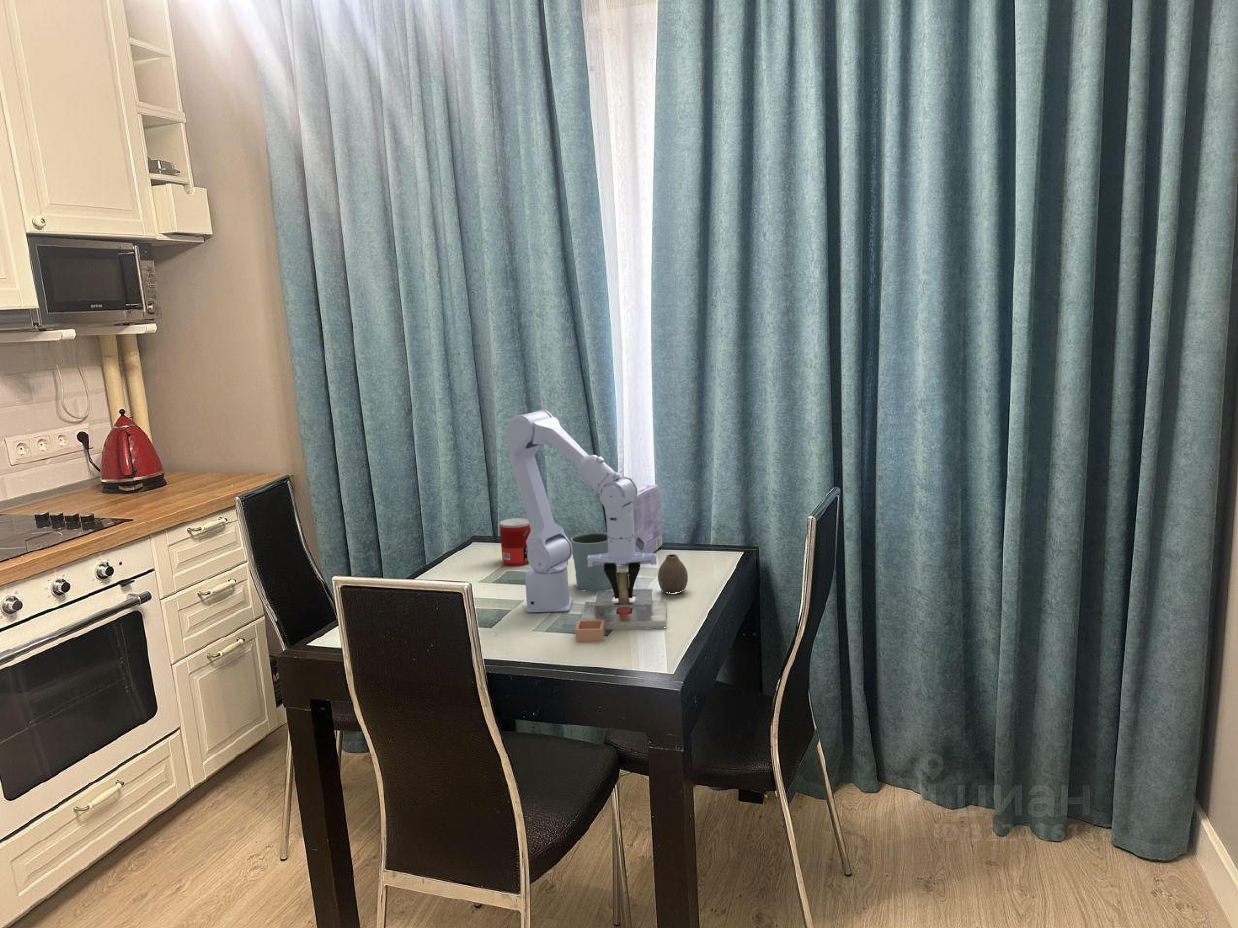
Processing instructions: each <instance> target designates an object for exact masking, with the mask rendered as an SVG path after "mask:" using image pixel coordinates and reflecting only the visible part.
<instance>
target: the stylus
mask: <svg viewBox="0 0 1238 928" xmlns="http://www.w3.org/2000/svg"><path fill="white" fill-rule="evenodd" d="M617 584H618V598H617V599H618V600H617V601H618V603H629V602H630V601H631V600H630V598H629V575H628V571H626V570H620V571H617ZM620 608H628V607H620Z"/></svg>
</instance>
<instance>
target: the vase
mask: <svg viewBox="0 0 1238 928" xmlns="http://www.w3.org/2000/svg"><path fill="white" fill-rule="evenodd" d="M688 578H689V576H688V570H687V568H686V566H685V565H684V563H683V562H682V561H681V560H680V558H679V556H678V554H675V553H673V554H672V553H671V554H667V555H666V557H665V559H664V561H663V562H662V563H661V564H660V566H659V569H658V573H657V583H658V585H659V587H660V589H661V591H662V592H664V593H665V592H668V593H669V592H670V593H675V592H680V591H682V590H683V591H685V590H686V587H687V585H688V581H689V580H688ZM683 591H682V592H683Z"/></svg>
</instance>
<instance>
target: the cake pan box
mask: <svg viewBox="0 0 1238 928" xmlns="http://www.w3.org/2000/svg"><path fill="white" fill-rule="evenodd" d="M632 503H633V516H634V539H635V552H639V553H654V552H655V551H656V550H657V549H658V548H659V547H660V546H661V545H662V544H664V543H663V524H662V523H663V522H662V507H661V506H662V505H661V486H660V485H659V484H646V485H642V486H641V487H639V488H637V497H636V499H635V500H634V501H633V502H632ZM656 552H657V551H656ZM656 552H655V553H656Z"/></svg>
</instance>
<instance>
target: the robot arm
mask: <svg viewBox="0 0 1238 928" xmlns="http://www.w3.org/2000/svg"><path fill="white" fill-rule="evenodd" d="M505 433H506V436H507V440H508V447H507V448H508V449H507V450H508V451H507V453H508V459H509V462H510V465H511V469H512V472H513V474H514V478H515V481H516V484H517V488H518V491H519V495H520V497H521V501H522V502H521V503H522V504H523V507H524V508H523V509H524V510H525V514H526V517H527V518H526V519H528V521H529V525H530V528H531V532H530V534H529V536H528V538H527V541H526V544H527V547H528V554H527V558H528V562H529V564H528V565H529V566H530V567H531V568H527V569H526V571H525V593H526V594H525V595H526V613H550V612H551V613H552V612H555V613H556V612H569V611H570V609H571V606H572V603H573V597H570V593H569V575H568V574H569V573H568V565H569V560H570V558H571V557H573V554H572V553H573V548H572V544H571V541H570V539H569V538H568V537H567V535H566V533H565V530H564V528H563V527H562V526H560V525H559V524H557V523H556V521H555V519H554V517H553V515H554V514H553V512H552V509H551V506H550V502H549V499H548V496H547V491H546V490H545V485H544V483H543V479H542V475H541V472H540V469H539V466H538V464H537V463H538V462H537V459H536V454H537V453H538V451H539V449H540V447H541V446H542V445H543V446H544V445H545V446H551V447H552V448H553V449H555V451H557V452H558V453H560V454H561V455H562V456H563V457H565V458H566V459H567V460H568V461H570V462H571V463H572V464H573V465H574V466H576V467H577V475H578V476H579V477H580V478H581V479H582V480H583V481H584V482H585V483H586V484H588V485H589V486H590V487H591V488H592V489H593V490H594V491H595V492H596V493H597V494H599V501H600V502H601V504H602V505H603V507H604V511H605V515H606V516H605V517H606V533H607V538H608V553H605V554H598V555H588V558H587V560H588V566H593V565H604V572H605V574H606V576H607V577H608V579H609V581H610V583H611V586H612V587H611V588H612V589H611V590H613V592H614V596H615V597H614V599H618V584H617V572H618V570H617V566H619V565H621V566H622V565H628V566H627V567H628V568H627V570H628V571H627V572H628V578H629V599H632V598H633V597H632V596H633V589H634V588H635V587H634V586H635V583H636V580H637V578H638V575H639V572H640V569H641V565H648V564H650V565H651V566H652V565H657V552H655V553H639V552H635V539H634V516H633V503H632V502H633V501H634V500H635V499H636V497H637V489H638V487H637V485H636V483H635V482H634V480H633V479H632V478H631V477H629V476H621V474H620V473H619V472H618V471H617V472H616V471H615V470H614V469H613V468H611V467H610V466H609V465H608V464H607V463H606V462H605V458H604V457H603V456H598V455H596V454H592V455H590V454H589V453H587V452H586V451H585V450H584V449H583V448H582V447H581V446H580V445H579V444H578V443H577V441H576V440H575V439H573V438H572V437H571V436H570V434H568V433H567V431H566V430H564V428H562V426H561V424H560V421H559V419H558V418H556V417H555V416H553V414H552V413H551V412H550V411H548V410H546V409H539V410H537V411H533V412H528V413H524V414H518V415H514V416H513V417H512V418H511V419H510V420H509V422H508V424H507V426H506V427H505Z"/></svg>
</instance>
